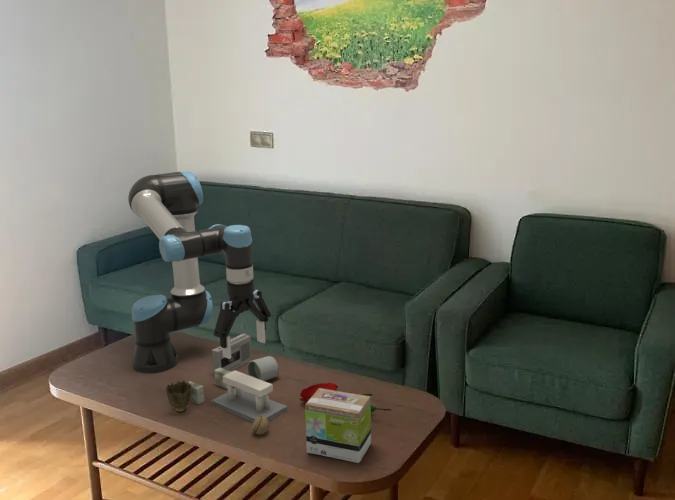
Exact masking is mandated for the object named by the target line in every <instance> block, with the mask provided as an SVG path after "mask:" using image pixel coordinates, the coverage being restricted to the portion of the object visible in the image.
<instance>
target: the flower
mask: <svg viewBox="0 0 675 500" xmlns="http://www.w3.org/2000/svg"><path fill="white" fill-rule="evenodd" d="M319 388H322V389H328V390H334V391H338V388H339V385H337V384H335V383H332V382H327V383H326V382H325V383H321V382H320V383H316V384H313V385H310V386H308V387H306V388H303V389H302V390H300V391H301V392H300V394H299V396H300V398H299V401H300V402H302V403H305V404H306V403H307V402H308V401H309V400H310V398H311V397H312V396H313V395H314V394H315V392H316V391H317V390H318V389H319ZM361 395H365V396H371V397H372V396H373V395H374V394H373V393H361ZM376 410H381V411H392V409H391V408H380V407H379V408H378V407H376V406H374V405H371V414H372V413H374V412H375V411H376Z"/></svg>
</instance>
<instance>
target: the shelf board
mask: <svg viewBox="0 0 675 500" xmlns="http://www.w3.org/2000/svg"><path fill="white" fill-rule="evenodd" d="M223 382H224V383H226V384H229V385H231V386H234V387H233V388H235V387H236V388H239V389H241V390H244V391H246V392H249V393H251V394H254V395H256V396H259V397H262V396H264V395H266V394H267V393H269V394H270V393H271V392H273V391H274V389H273V388H274V385H273V384H272V383H270V382H267V381H262V380H260V379H257V378H254V377H252V376H249V375H248V374H246V373H243V372H241V371H238V370H236V369H234V370H232V371H230V373H228V374H226V375H224V376H223Z"/></svg>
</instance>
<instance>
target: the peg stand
mask: <svg viewBox="0 0 675 500" xmlns="http://www.w3.org/2000/svg"><path fill="white" fill-rule="evenodd" d="M227 385H228V389H227V392H225V393H224V394H221V395H219V396H217V397H215V398H212V399H211V400H210V401H211V403H210V404H211V405H212V406H213V407H216V408H218V409H220V410H222V411H225V412H227V413H230V414H232V415H234V416H237V417H238V418H241V419H243V420H246V421H248V422H250V423H252V424H253V423H254V420H255V419H256V417H258V416H264V417H265V418H267V420H268V422H270V421H273V420H274V419H276V418H277V417H280V415H283V414H285V413H286V412H288V405H285V404H283V403H280V402H277V401H275V400H272V399H270V396H269V394H270V392H269V393H267V394H266V395H264V396H262V397H259V396H256V395H254V394H251V393H249V392H246V391H244V390H241V389H239V388H236V387H233V386H231V385H229V384H227Z"/></svg>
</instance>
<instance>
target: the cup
mask: <svg viewBox="0 0 675 500" xmlns="http://www.w3.org/2000/svg"><path fill="white" fill-rule="evenodd" d="M187 382H188V383H187ZM187 382H186V381H185V380H183V381H179V380H177V382H176V383H175V384H174V383H173V382H171V383H170V384H167V385H166V387H165V391H166V397H167V400H168V403H169V405H170V407H172V408H173V409H174V412H175V413H176V414H183V413H185V412H187V410H188V406H189V405H190V404H191V402H192V401H191V383H190V384H189V382H190V381H187Z"/></svg>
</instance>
